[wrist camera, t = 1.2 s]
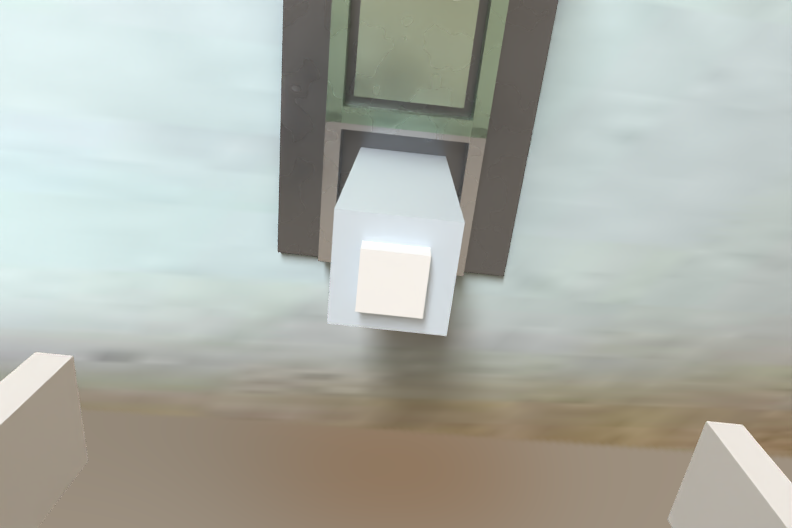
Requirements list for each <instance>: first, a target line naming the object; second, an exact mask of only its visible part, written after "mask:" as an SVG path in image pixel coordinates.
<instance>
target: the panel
mask: <svg viewBox="0 0 792 528" xmlns="http://www.w3.org/2000/svg"><path fill="white" fill-rule="evenodd" d="M557 4H558V0H283V41H282V85H281V129H280V174H279V218H278V252H283V253H292V254H301V255H311V256H318V261H325V262H331V253H332V237H333V221H334V208H335V206H336V204H337V201H338V199H339V197H340V194H341V192H342V190H343V187H344V185H345V183H346V180H347V178H348V176H349V174H350V171H351V169H352V167H353V164H354V162H355V160H356V157H357V155H358V153H359V150H360V148H361V147H364V148H373V149H383V150H392V151H401V152H410V153H419V154H428V155H437V156H446V159H447V162H448V166H449V169H450V173H451V176H452V180H453V183H454V187H455V190H456V194H457V197H458V201H459V204H460V208H461V211H462V214H463V218H464V221H465V225H464V231H463V237H462V243H461V249H460V256H459V262H458V268H457V274H456V275H457V276H463V275H464V272H472V273H481V274H491V275H500V276H504V272H505V267H506V262H507V257H508V252H509V247H510V242H511V237H512V232H513V226H514V221H515V216H516V211H517V206H518V201H519V196H520V191H521V186H522V181H523V176H524V171H525V166H526V161H527V156H528V151H529V146H530V140H531V135H532V130H533V125H534V120H535V115H536V110H537V105H538V100H539V95H540V90H541V85H542V80H543V75H544V70H545V65H546V60H547V54H548V49H549V44H550V39H551V34H552V29H553V24H554V19H555V14H556V9H557Z"/></svg>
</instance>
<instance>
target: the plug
mask: <svg viewBox="0 0 792 528" xmlns="http://www.w3.org/2000/svg"><path fill="white" fill-rule="evenodd" d="M464 225H465V221H464V218H463V214H462V211H461V208H460V204H459V201H458V197H457V194H456V190H455V187H454V183H453V180H452V176H451V173H450V169H449V166H448V162H447V159H446V156H437V155H428V154H419V153H410V152H401V151H392V150H383V149H373V148H364V147H361V148H360V150H359V153H358V155H357V157H356V160H355V162H354V164H353V167H352V169H351V171H350V174H349V176H348V178H347V180H346V183H345V185H344V187H343V190H342V192H341V194H340V197H339V199H338V201H337V204H336V206H335V208H334V221H333V237H332V253H331V269H330V284H329V300H328V316H327V324H336V325H345V326H355V327H365V328H374V329H384V330H394V331H403V332H413V333H422V334H432V335H442V336H447V330H448V324H449V318H450V312H451V305H452V299H453V293H454V287H455V280H456V274H457V268H458V262H459V256H460V249H461V243H462V237H463V231H464Z"/></svg>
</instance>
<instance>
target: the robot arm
mask: <svg viewBox="0 0 792 528" xmlns="http://www.w3.org/2000/svg"><path fill="white" fill-rule="evenodd" d="M87 462H88V455H87V448H86V441H85V435H84V428H83V421H82V414H81V407H80V400H79V393H78V386H77V379H76V372H75V365H74V358H73V356H68V355H58V354H48V353H39V352H35V353H34V354H33V355H32V356H31V357H29V358H28V359H27V360H26V361H25V362H23V363H22V364H21V365H20V366H19V367H17V368H16V369H15V370H14V371H13V372H12V373H10V374H9V375H8V376H7V377H6V378H4V379H3V380H2V381H1V382H0V528H38V527H39V525H40V524H41V523H42V521H43V520H44V519H45V517H46V516H47V515H48V514H49V512H50V511H51V510H52V508H53V507H54V506H55V504H56V503H57V501H58V500H59V499H60V498H61V496H62V495H63V494H64V492H65V491H66V490H67V488H68V487H69V486H70V485H71V483H72V482H73V481H74V479H75V478H76V476H77V475H78V474H79V473H80V471H81V470H82V469H83V467H84V466H85V465H86V464H87ZM668 521H669V523H670V524H671V527H672V528H792V483H791V482H790V481H789V479H788V478H787V477H786V476H785V475H784V473H783V472H782V471H781V470H780V469H779V468H778V466H777V465H776V464H775V463H774V461H773V460H772V459H771V458H770V457H769V456H768V454H767V453H766V452H765V451H764V450H763V448H762V447H761V446H760V445H759V444H758V443H757V441H756V440H755V439H754V438H753V437H752V435H751V434H750V433H749V432H748V431H747V429H746V428H745V427H744V426H743V425H739V424H729V423H720V422H710V421H706V423H705V426H704V428H703V431H702V433H701V436H700V438H699V441H698V443H697V446H696V448H695V451H694V453H693V456H692V459H691V461H690V464H689V466H688V469H687V471H686V474H685V476H684V479H683V481H682V484H681V486H680V489H679V492H678V494H677V497H676V499H675V502H674V504H673V507H672V509H671V512H670V514H669V517H668Z"/></svg>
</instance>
